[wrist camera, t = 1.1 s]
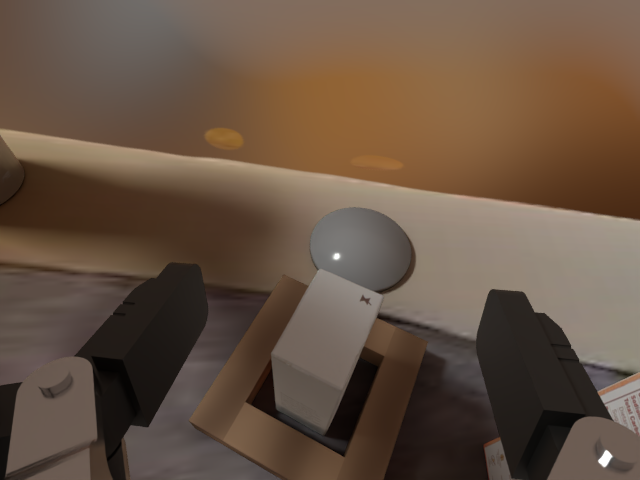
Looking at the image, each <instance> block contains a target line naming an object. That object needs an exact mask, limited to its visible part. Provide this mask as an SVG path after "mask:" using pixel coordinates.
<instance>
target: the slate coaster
mask: <svg viewBox="0 0 640 480" xmlns="http://www.w3.org/2000/svg"><path fill="white" fill-rule="evenodd" d="M310 254H311V258H312V261H313V263H314V265H315V267H316V268H317V270H319V269H323V270H325V271H328V272H330V273H333V274H335V275H337V276H339V277H342V278H344V279H346V280H348V281H351V282H353V283H355V284H357V285H360V286H362V287H364V288H367V289H369V290H371V291H374V292H376V293H377V292H381V291H384V290H387V289H389V288H391V287H393V286H394V285H395V284H397V283H398V282H399V281H400V280H401V279H402V278H403V276H404V275H405V273H406V271H407V269H408V267H409V265H410V261H411V246H410V243H409V240H408V238H407V236H406V234H405V233H404V231H403V230H402V229H401V227H400V226H399V225H398V224H397V223H396V222H394V221H393V220H392V219H390V218H389V217H387V216H386V215H384V214H382V213H379V212H377V211H374V210H370V209H366V208H356V207H354V208H344V209H340V210H336V211H334V212H331V213H330V214H328V215H326V216H325V217H323V218H322V219H321V220H320V221H319V222H318V223H317V225H316V226H315V228H314V230H313V232H312V235H311V240H310Z"/></svg>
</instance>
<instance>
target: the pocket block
mask: <svg viewBox="0 0 640 480" xmlns="http://www.w3.org/2000/svg"><path fill="white" fill-rule="evenodd" d="M308 287H309V286H307V285H305V284H303V283H301V282H298V281H296V280H294V279H292V278H290V277H288V276H286V275H283V276H282V278H281V279H280V281H279V282H278V284H277V285H276V287H275V289H274V290H273V292H272V293H271V295H270V296H269V298H268V299H267V301H266V302H265V304H264V305H263V307H262V309H261V310H260V312H259V313H258V315H257V316H256V318H255V319H254V321H253V322H252V324H251V325H250V327H249V329H248V330H247V332H246V333H245V335H244V336H243V338H242V339H241V341H240V342H239V344H238V345H237V347H236V349H235V350H234V352H233V353H232V355H231V356H230V358H229V359H228V361H227V362H226V364H225V365H224V367H223V369H222V370H221V372H220V373H219V375H218V376H217V378H216V379H215V381H214V382H213V384H212V385H211V387H210V389H209V390H208V392H207V393H206V395H205V396H204V398H203V399H202V401H201V402H200V404H199V405H198V407H197V409H196V410H195V412H194V413H193V415H192V416H191V418H190V419H189V422H190V423H191V424H192V425H193V426H194V427H195V428H196V429H197V430H199V431H201V432H202V433H204V434H206V435H208V436H209V437H211V438H213V439H214V440H216V441H218V442H219V443H221V444H223V445H224V446H226V447H228V448H230V449H231V450H233V451H235V452H236V453H238V454H240V455H241V456H243V457H245V458H246V459H248V460H250V461H251V462H253V463H255V464H257V465H258V466H260V467H262V468H263V469H265V470H267V471H268V472H270V473H272V474H273V475H275V476H277V477H279V478H280V479H282V480H383V479H384V476H385V473H386V470H387V467H388V464H389V461H390V458H391V455H392V451H393V448H394V445H395V442H396V439H397V436H398V433H399V430H400V427H401V424H402V421H403V418H404V414H405V411H406V408H407V405H408V402H409V399H410V396H411V393H412V390H413V387H414V384H415V380H416V377H417V374H418V371H419V368H420V365H421V362H422V359H423V356H424V353H425V350H426V347H427V343H428V342H427V341H425V340H423V339H421V338H418V337H416V336H414V335H412V334H410V333H408V332H406V331H403V330H401V329H399V328H397V327H395V326H393V325H391V324H388V323H386V322H384V321H382V320H380V319H378V318H376V319H375V322H374V324H373V326H372V328H371V331H370V333H369V335H368V338H367V340H366V342H365V345H364V347H363V349H362V352H361V354H360V356H359V357H360V358H362V359H364V360H366V361H368V362H370V363H372V364H374V365H376V366H378V369H377V371H376V374H375V376H374V379H373V382H372V384H371V387H370V389H369V392H368V394H367V397H366V399H365V402H364V404H363V407H362V410H361V412H360V415H359V417H358V420H357V422H356V425H355V427H354V430H353V432H352V435H351V437H350V440H349V443H348V445H347V448H346V450H345V453H344V455H343V456H341V455H339V454H338V453H336V452H334V451H332V450H330V449H329V448H327V447H325V446H323V445H322V444H320V443H318V442H316V441H314V440H313V439H311V438H309V437H307V436H305V435H304V434H302V433H300V432H298V431H296V430H295V429H293V428H291V427H289V426H287V425H286V424H284V423H282V422H280V421H278V420H277V419H275V418H273V417H271V416H269V415H268V414H266V413H264V412H262V411H260V410H259V409H257V408H255V407H253V406H251V404H252V402H253V400H254V399H255V397H256V395H257V393H258V392H259V390H260V388H261V386H262V385H263V383H264V381H265V379H266V378H267V376H268V374H269V372H270V370H271V369H272V360H271V352H272V351H273V349H274V347H275V346H276V344H277V342H278V340H279V339H280V337H281V335H282V333H283V331H284V330H285V328H286V326H287V324H288V323H289V321H290V319H291V317H292V316H293V314H294V312H295V310H296V308H297V306H298V305H299V303H300V301H301V299H302V297H303V295H304V294H305V292H306V290H307V288H308Z"/></svg>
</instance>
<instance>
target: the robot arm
mask: <svg viewBox="0 0 640 480" xmlns="http://www.w3.org/2000/svg"><path fill="white" fill-rule="evenodd" d="M23 179H24V169H23V167H22V165H21V164H20V162H19V161H18V159H17V158H16V157H15V155H14V154H13V152H12V151H11V150H10V148H9V147H8V146H7V144H6V143H5V141H4V140H3V139H2V137H1V135H0V204H2V203H3V202H5V201H6V200H8V199H9V198H10V197H11V196H12V195H14V193H15V192H16V191H17V190H18V189H19V188H20V186H21V184H22V182H23ZM207 316H208V304H207V299H206V293H205V288H204V283H203V278H202V273H201V269H200V267H199V266H198V265H197V264H186V263H173V262H172V263H169V264H168V265H167V266H166V267H165V269H164V270H163V271H162V272H161V273H160V274H159V276H158V277H157V278H156V279H155V278H151V279H149V280H147V281H146V282H144V283H143V284H141V285H140V286H138V287H136V288H135V289H134V290H133V291H132V292H131V293H130V294H129V295H128V296H127V298H126V299H125V300H124V301H123V304H120V305H119V307H118V308H117V309H116V310H115V311H114V312H113V315H111V316H110V317H109V318H108V319H107V320H106V321H105V322H104V323H103V325H102V326H101V327H100V328H99V329H98V330H97V331H96V332H95V334H94V335H93V336H92V337H91V338H90V339H89V340H88V341H87V343H86V344H85V345H84V346H83V347H82V348H81V349H80V350H79V352H78V353H77V354H76V355H75V356H74V357H66V358H61V359H57V360H55V361H52V362H49V363H47V364H45V365H43V366H42V367H40V368H38V369H37V370H36V371H34V372H33V373H32V374H30V375H29V376H28V377H27V378H26V379H25V380H24V381H23V382H20V383H14V384H7V385H1V386H0V480H130V473H129V466H128V458H127V451H126V443H125V440H124V435H125V433H126V432H127V430H128V428H129V427H130V425H134V426H142V427H149V425H150V423H151V421H152V420H153V418H154V416H155V414H156V412H157V411H158V409H159V407H160V405H161V403H162V402H163V400H164V398H165V396H166V395H167V393H168V391H169V389H170V387H171V386H172V384H173V382H174V380H175V378H176V377H177V375H178V373H179V371H180V370H181V368H182V366H183V364H184V362H185V361H186V359H187V357H188V355H189V354H190V352H191V350H192V348H193V346H194V345H195V343H196V341H197V339H198V337H199V336H200V334H201V332H202V330H203V329H204V327H205V324H206V321H207ZM476 349H477V355H478V359H479V363H480V367H481V370H482V374H483V377H484V381H485V385H486V388H487V392H488V396H489V399H490V403H491V406H492V410H493V414H494V417H495V421H496V425H497V428H498V432H499V435H500V439H501V443H502V446H503V450H504V454H505V457H506V461H507V464H508V468H509V472H510V475H511V478H512V479H519V480H640V436H638V435H637V434H636V433H634V432H633V431H632V430H630V429H628V428H627V427H625V426H623V425H621V424H619V423H617V422H614V420H613V419H612V417H611V415H610V413H609V412H608V410H607V408H606V406H605V405H604V403H603V401H602V399H601V398H600V396H599V394H598V392H597V390H596V389H595V387H594V385H593V383H592V382H591V380H590V378H589V376H588V374H587V373H586V371H585V369H584V367H583V366H582V364H580V363H579V358H578V357H577V355H576V353H575V351H574V350H573V349H571V344H570V343H569V341H568V339H567V337H566V335H565V334H564V332H563V330H562V328H560V327H559V326H558V325H557V324H556V323H555V322H554V321H553V320H552V319H550V318H549V317H548V316H547V315H546V314H545V313H535V312H534V310H533V308H532V306H531V304H530V302H529V300H528V299H527V297H526V295H525V293H524V292H520V291H508V290H495V289H492V290H490V292H489V294H488V297H487V300H486V304H485V307H484V311H483V314H482V318H481V321H480V325H479V328H478V332H477V339H476Z"/></svg>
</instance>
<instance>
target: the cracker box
mask: <svg viewBox="0 0 640 480" xmlns="http://www.w3.org/2000/svg"><path fill="white" fill-rule="evenodd" d="M598 394H599V396H600V398H601V399H602V401H603V403H604V405H605V406H606V408H607V410H608V412H609V413H610V415H611V417H612V419H613V420H614V422H617V423H619V424H621V425H623V426H625V427H627V428H628V429H630V430H632V431H633V432H634V433H636V434H637V435H638V436H640V372H639V373H637V374H634V375H632V376H630V377H628V378H626V379H624V380H622V381H619V382H617V383H615V384H613V385H611V386H608V387H606V388H604V389H602V390H600V391H598ZM484 452H485V459H486V466H487V473H488V480H519V479H512V478H511V475H510V472H509V468H508V464H507V461H506V457H505V454H504V450H503V446H502V443H501V439H500V437H499V438H496V439H494V440H492V441H489V442H488V443H485V444H484Z"/></svg>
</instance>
